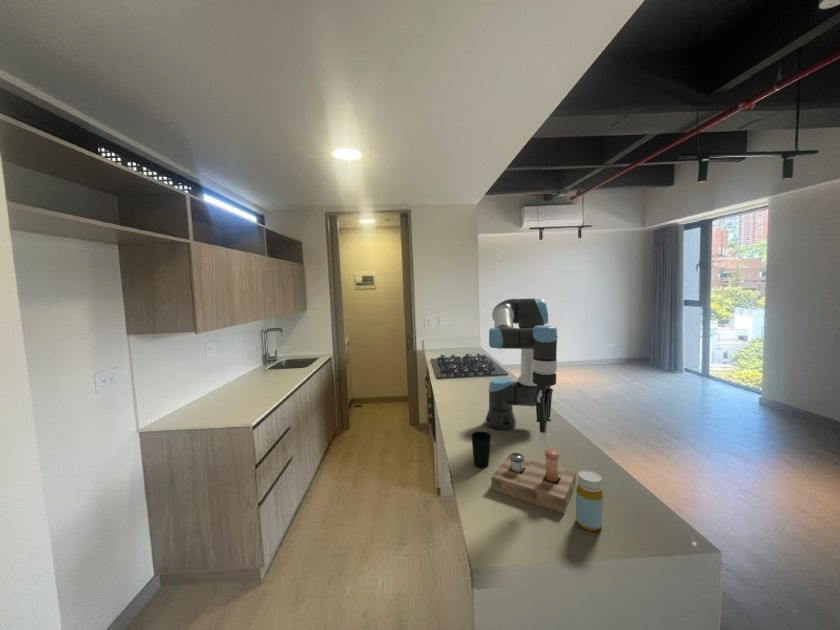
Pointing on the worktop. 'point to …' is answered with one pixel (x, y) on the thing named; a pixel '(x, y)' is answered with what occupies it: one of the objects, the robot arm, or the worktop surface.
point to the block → (535, 485)
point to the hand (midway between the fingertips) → (543, 440)
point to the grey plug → (517, 463)
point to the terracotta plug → (552, 464)
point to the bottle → (589, 501)
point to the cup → (481, 448)
